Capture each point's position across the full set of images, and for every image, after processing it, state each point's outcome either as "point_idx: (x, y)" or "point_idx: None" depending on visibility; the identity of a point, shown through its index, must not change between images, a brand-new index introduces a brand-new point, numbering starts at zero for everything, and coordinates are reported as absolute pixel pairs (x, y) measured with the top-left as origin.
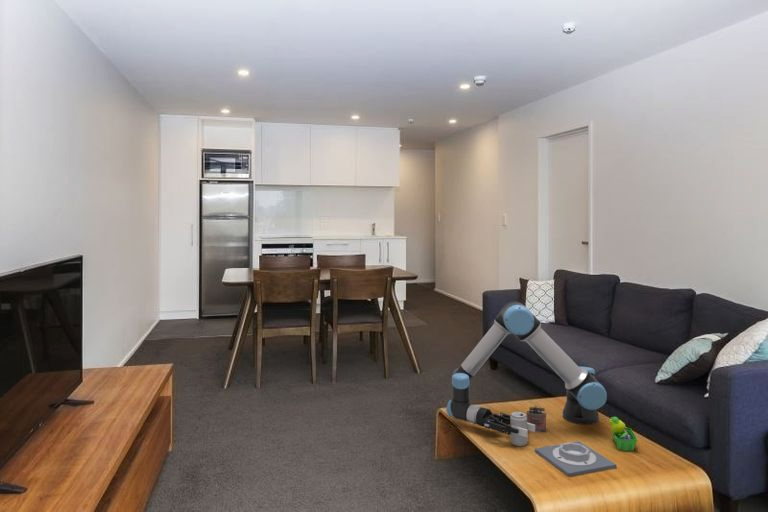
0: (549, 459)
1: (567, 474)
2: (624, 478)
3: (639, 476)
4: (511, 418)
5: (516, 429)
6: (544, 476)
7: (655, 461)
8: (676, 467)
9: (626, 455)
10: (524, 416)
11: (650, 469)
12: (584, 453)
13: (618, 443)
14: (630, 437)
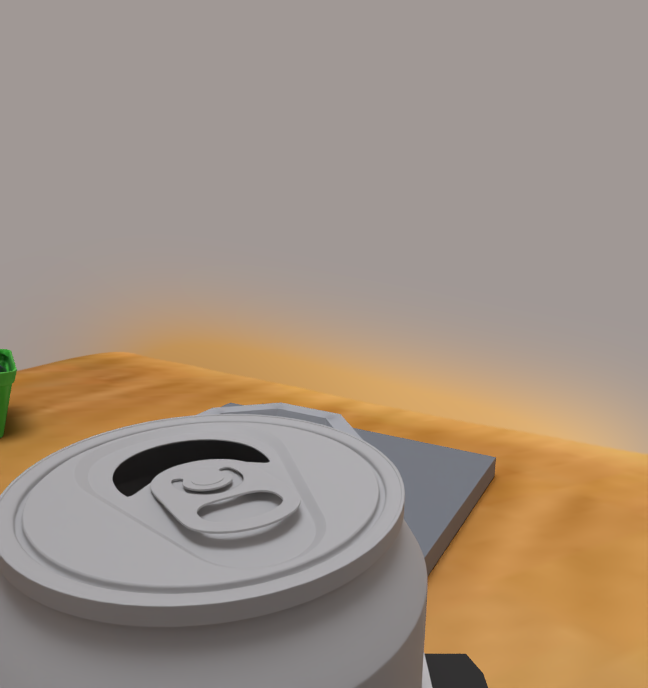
0: (436, 542)
1: (493, 470)
2: (308, 400)
3: (255, 388)
4: (411, 629)
5: (449, 677)
6: (631, 530)
7: (87, 384)
8: (112, 365)
9: (66, 419)
10: (257, 415)
11: (172, 383)
12: (288, 408)
13: (7, 399)
14: None
